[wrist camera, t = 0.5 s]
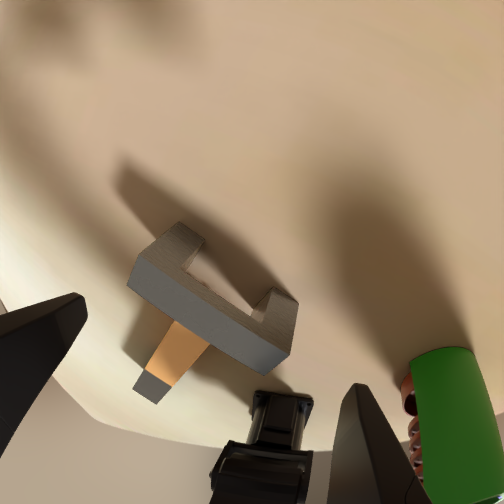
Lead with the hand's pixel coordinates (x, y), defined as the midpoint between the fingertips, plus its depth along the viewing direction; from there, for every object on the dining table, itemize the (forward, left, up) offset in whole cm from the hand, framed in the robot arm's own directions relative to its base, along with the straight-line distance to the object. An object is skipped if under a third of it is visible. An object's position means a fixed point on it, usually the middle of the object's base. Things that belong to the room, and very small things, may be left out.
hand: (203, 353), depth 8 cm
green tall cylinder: (-15, -19, -14) cm, 28 cm away
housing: (-6, +3, -14) cm, 15 cm away
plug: (-16, +9, -14) cm, 23 cm away
